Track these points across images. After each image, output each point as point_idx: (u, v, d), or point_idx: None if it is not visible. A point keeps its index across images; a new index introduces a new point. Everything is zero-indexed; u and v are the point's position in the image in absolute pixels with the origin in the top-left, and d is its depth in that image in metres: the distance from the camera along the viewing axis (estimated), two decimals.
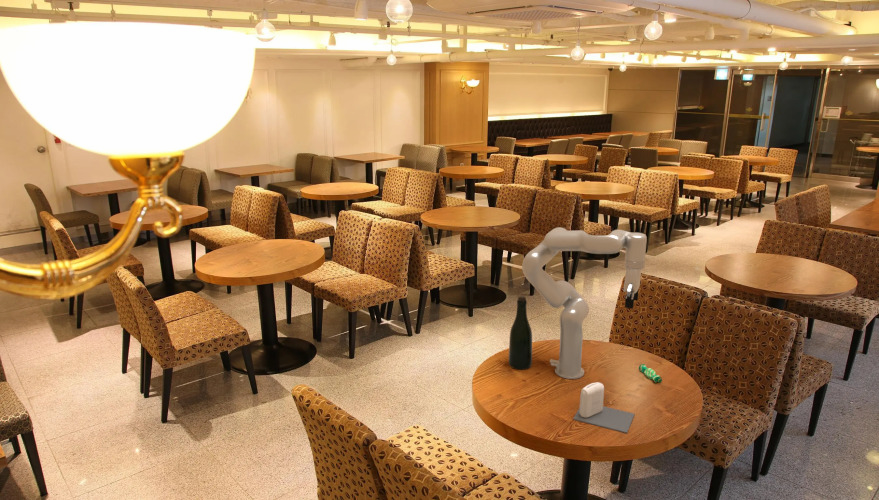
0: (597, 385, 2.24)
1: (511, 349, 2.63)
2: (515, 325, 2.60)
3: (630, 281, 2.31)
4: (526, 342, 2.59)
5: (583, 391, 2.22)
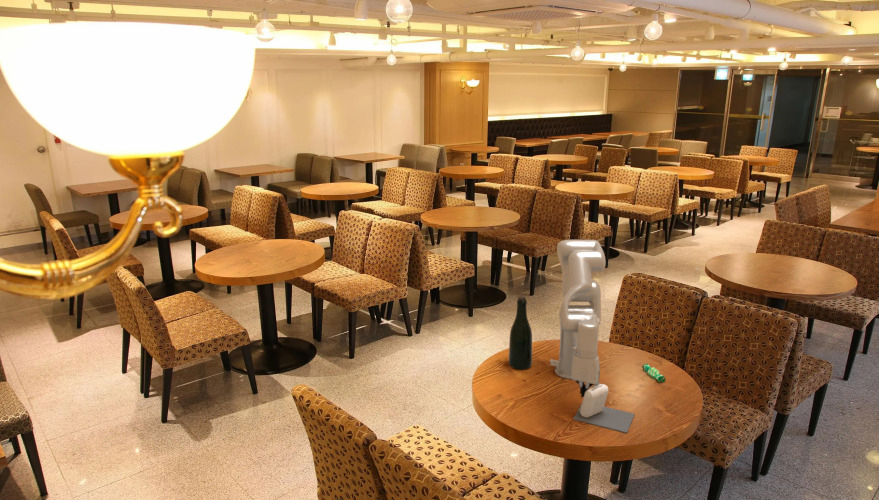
0: (602, 388, 2.22)
1: (511, 349, 2.63)
2: (515, 325, 2.60)
3: None
4: (526, 342, 2.59)
5: (588, 393, 2.20)
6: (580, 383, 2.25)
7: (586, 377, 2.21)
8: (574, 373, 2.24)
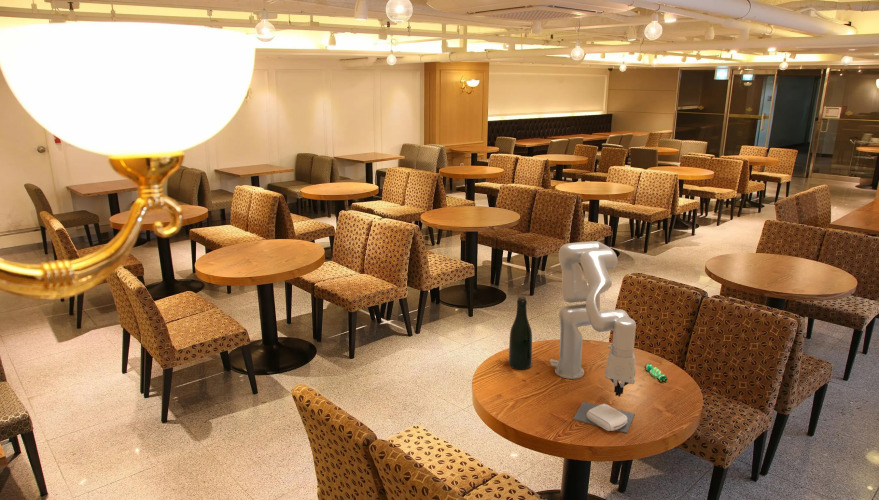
0: (622, 426, 2.17)
1: (511, 349, 2.63)
2: (515, 325, 2.60)
3: None
4: (526, 342, 2.59)
5: (608, 426, 2.14)
6: (615, 382, 2.18)
7: (622, 376, 2.15)
8: (609, 371, 2.17)
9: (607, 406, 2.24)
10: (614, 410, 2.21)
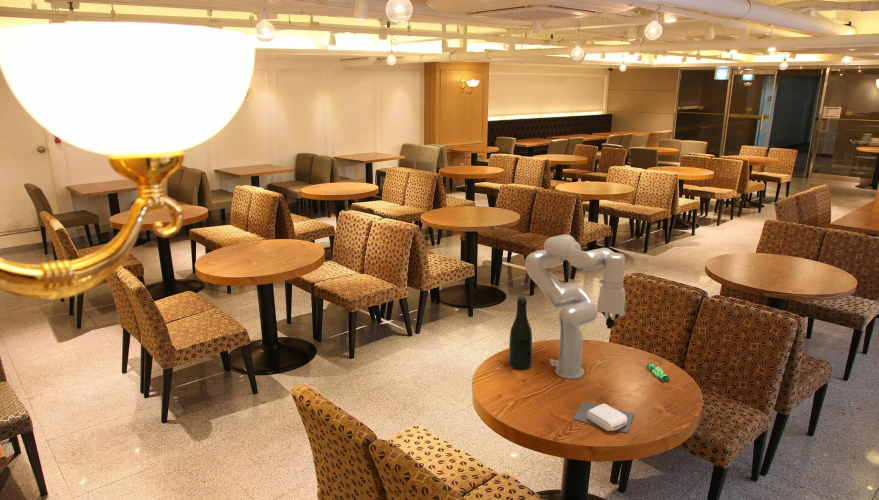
0: (622, 426, 2.17)
1: (511, 349, 2.63)
2: (515, 325, 2.60)
3: (624, 304, 2.30)
4: (526, 342, 2.59)
5: (608, 426, 2.14)
6: (606, 315, 2.33)
7: (612, 308, 2.30)
8: (600, 305, 2.32)
9: (607, 406, 2.24)
10: (614, 410, 2.21)
